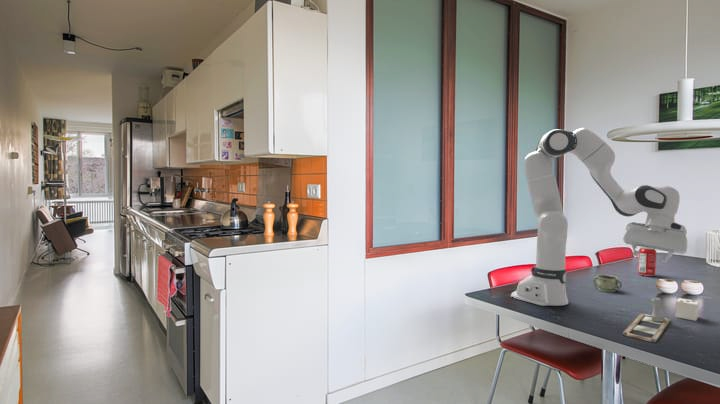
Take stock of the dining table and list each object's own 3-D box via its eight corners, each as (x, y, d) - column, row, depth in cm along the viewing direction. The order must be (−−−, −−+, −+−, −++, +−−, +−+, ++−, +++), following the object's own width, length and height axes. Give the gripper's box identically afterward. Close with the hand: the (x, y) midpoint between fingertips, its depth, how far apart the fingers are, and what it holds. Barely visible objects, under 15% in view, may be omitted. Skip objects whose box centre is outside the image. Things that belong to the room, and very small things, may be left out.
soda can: (637, 275, 220) (638, 247, 219) (637, 272, 226) (639, 246, 226) (655, 277, 215) (656, 249, 215) (655, 274, 222) (656, 247, 221)
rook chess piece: (654, 318, 151) (651, 296, 152) (668, 320, 148) (665, 297, 148) (649, 320, 149) (646, 298, 149) (663, 322, 145) (660, 300, 145)
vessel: (589, 289, 193) (590, 275, 193) (595, 285, 199) (596, 272, 199) (618, 294, 185) (619, 280, 184) (624, 290, 191) (624, 277, 190)
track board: (622, 335, 136) (622, 332, 136) (641, 315, 156) (641, 313, 155) (655, 342, 129) (655, 340, 129) (670, 321, 149) (670, 318, 149)
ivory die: (675, 316, 154) (676, 300, 153) (678, 313, 158) (678, 297, 158) (696, 320, 150) (696, 304, 149) (698, 317, 154) (698, 301, 153)
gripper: (626, 218, 165) (617, 249, 162) (690, 227, 151) (681, 262, 148) (629, 224, 170) (620, 255, 167) (691, 234, 155) (682, 267, 152)
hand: (649, 258), depth 157 cm, fingers open, 8 cm apart
